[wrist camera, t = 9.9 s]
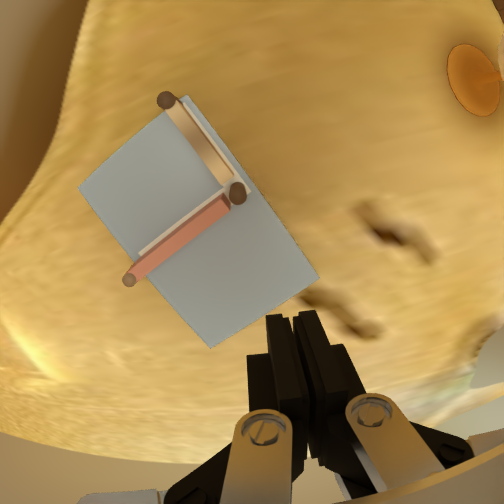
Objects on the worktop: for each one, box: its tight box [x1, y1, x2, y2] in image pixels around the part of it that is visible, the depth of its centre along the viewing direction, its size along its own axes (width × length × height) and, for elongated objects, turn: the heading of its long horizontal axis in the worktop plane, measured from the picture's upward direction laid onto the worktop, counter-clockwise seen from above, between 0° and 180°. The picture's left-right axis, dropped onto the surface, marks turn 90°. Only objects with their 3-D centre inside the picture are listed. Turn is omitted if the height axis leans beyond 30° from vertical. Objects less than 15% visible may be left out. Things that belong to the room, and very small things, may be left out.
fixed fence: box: [157, 91, 247, 205], centre depth 26 cm, size 11×1×5 cm, turn 36°
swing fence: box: [122, 193, 231, 287], centre depth 28 cm, size 11×1×4 cm, turn 126°
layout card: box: [78, 94, 319, 349], centre depth 31 cm, size 22×14×1 cm, turn 36°
